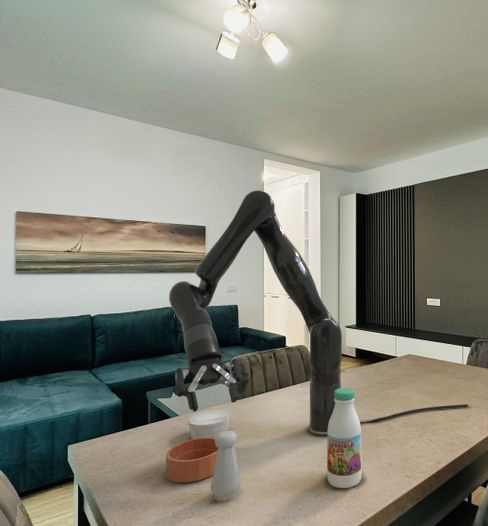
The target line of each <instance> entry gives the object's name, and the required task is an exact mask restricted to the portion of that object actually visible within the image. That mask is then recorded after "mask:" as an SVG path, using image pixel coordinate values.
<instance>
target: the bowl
mask: <svg viewBox="0 0 488 526" xmlns="http://www.w3.org/2000/svg"><path fill="white" fill-rule="evenodd" d="M217 452H218V447H217V446H216V445H215V438H205V437H204V438H196V439H193V438H191V439H188V440H185V441H182V442H179V443H178V444H175V445H173V446H172V447H170V448H169V449H168V450H167V452H166V455H165V476H166V478H167V479H168V480H169V481H171V482H174V483H192V482H197V481H201V480H204V479H206V478H207V479H208V478H209V477H212V476H213V473H214V468H215V463H216V457H217Z"/></svg>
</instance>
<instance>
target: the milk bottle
mask: <svg viewBox="0 0 488 526" xmlns="http://www.w3.org/2000/svg"><path fill="white" fill-rule="evenodd" d="M334 401H335V407H334V410H333V413H332V415H331V418H330V420H329V424H328V435H326V437H327V438H326V439H327V441H326V443H327V444H326V449H327V451H326V452H327V453H326V454H327V455H326V456H327V458H326V461H327V463H326V465H327V466H326V467H327V468H326V469H327V471H326V472H327V473H326V474H327V481H328V483H329V485H330V486H332V487H334V488H338V489H350V488H352V487H355V486H357V485H358V484H359V483H360V482H361V479H362V475H363V474H362V473H363V471H362V470H363V469H362V467H363V466H362V461H363V460H362V427H361V425H362V424H360V422H361V421H360V418H359V416H358V413H357V411H356V409H355V405H354V401H355V390H354V389H353V388H350V387H341V388H340V389H336V390H335V391H334Z"/></svg>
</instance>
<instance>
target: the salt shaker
mask: <svg viewBox="0 0 488 526" xmlns="http://www.w3.org/2000/svg"><path fill="white" fill-rule="evenodd" d="M237 441H238V434H237V433H236V432H235V431H234V430H227V431H223V432H221V433H219V434H218V435H217V436H216V438H215V445H216V446H217V447H218V452H217V457H216V463H215V468H214V473H213V475H212V477H211V484H210V492H211V493H212V494H213V496H214V498H215V501H216V502H223V503H225V502H227V501H229V500H232V499H234V498H235V496H236V495H237V492H238V490H239V488H240V486H241V476H240V470H239V464H238V459H237V453H236V447H235V445H236V444H237Z"/></svg>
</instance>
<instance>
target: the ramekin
mask: <svg viewBox="0 0 488 526" xmlns="http://www.w3.org/2000/svg"><path fill="white" fill-rule="evenodd" d="M230 418H231V413H230V412H229V411H227V410H223V409H211V410H205V411H200V412H197V413H195V414H193V415H191V416H190V417H189V418H188V422H187V424H188V427H189V433H190V437H191V439H196V438H204V437H205V438H216V436H217V435H218V434H219V433H221V432H223V431H228V430H229V422H230Z"/></svg>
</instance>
